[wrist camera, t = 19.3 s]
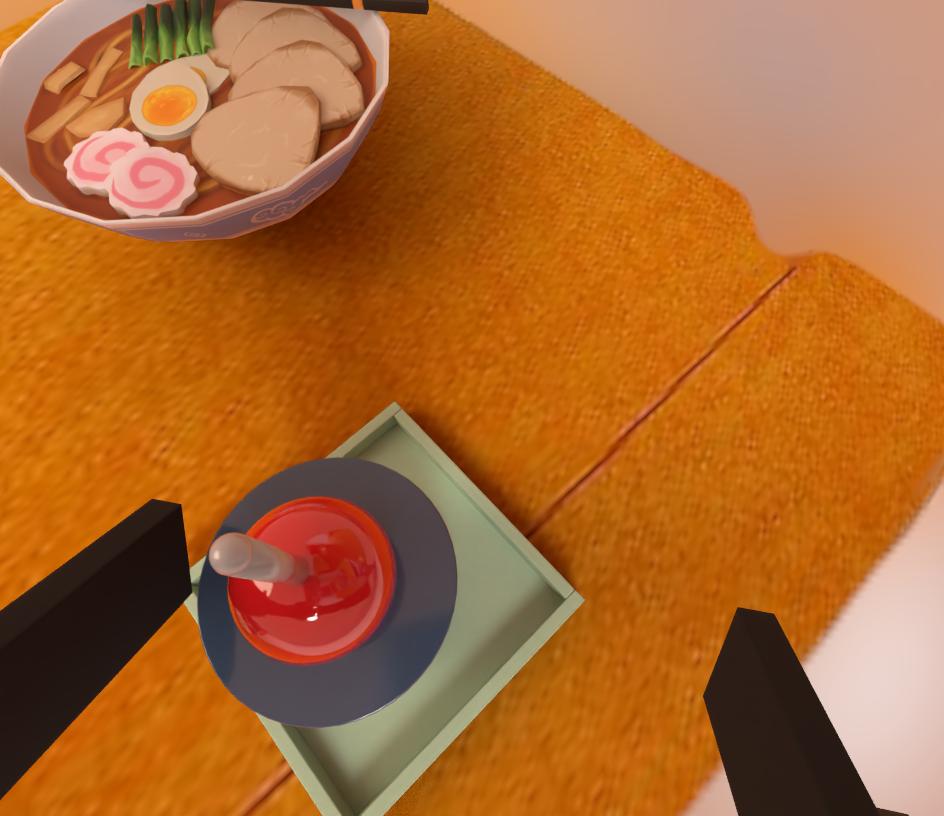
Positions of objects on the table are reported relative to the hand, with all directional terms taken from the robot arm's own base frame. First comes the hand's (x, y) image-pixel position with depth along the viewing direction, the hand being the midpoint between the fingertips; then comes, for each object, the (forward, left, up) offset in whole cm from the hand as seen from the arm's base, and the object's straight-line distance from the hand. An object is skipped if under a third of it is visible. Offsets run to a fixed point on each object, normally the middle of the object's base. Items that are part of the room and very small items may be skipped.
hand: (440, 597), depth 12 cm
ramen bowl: (+31, +10, -13) cm, 35 cm away
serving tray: (+2, +4, -13) cm, 14 cm away
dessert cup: (+2, +4, -12) cm, 13 cm away
